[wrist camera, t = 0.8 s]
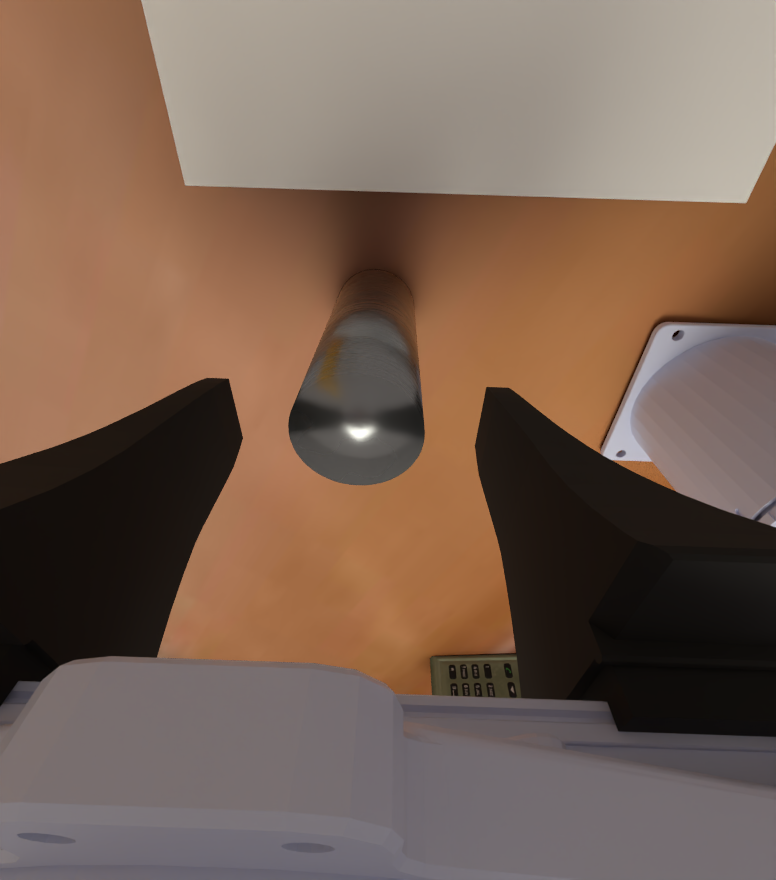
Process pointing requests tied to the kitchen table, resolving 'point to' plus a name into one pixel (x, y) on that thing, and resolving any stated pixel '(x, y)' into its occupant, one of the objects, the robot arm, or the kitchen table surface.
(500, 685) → the handheld radio
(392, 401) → the steel pin
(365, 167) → the grey hole plate
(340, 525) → the kitchen table surface
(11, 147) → the kitchen table surface
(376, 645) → the kitchen table surface
